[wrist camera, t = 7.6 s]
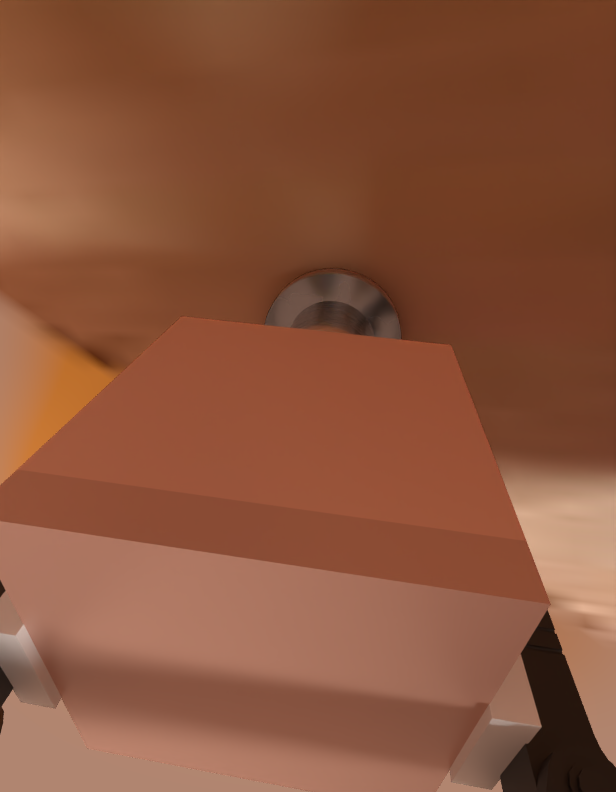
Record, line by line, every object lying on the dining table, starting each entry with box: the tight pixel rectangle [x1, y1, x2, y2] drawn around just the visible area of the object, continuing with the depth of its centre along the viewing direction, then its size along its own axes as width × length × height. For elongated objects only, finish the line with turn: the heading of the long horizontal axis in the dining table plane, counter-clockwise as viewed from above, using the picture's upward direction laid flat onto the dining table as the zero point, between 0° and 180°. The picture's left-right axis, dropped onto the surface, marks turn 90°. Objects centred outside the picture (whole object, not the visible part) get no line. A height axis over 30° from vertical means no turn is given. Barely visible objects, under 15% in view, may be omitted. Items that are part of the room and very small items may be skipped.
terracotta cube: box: [0, 316, 551, 792], centre depth 11 cm, size 8×8×8 cm
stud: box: [265, 268, 401, 340], centre depth 19 cm, size 7×7×8 cm
